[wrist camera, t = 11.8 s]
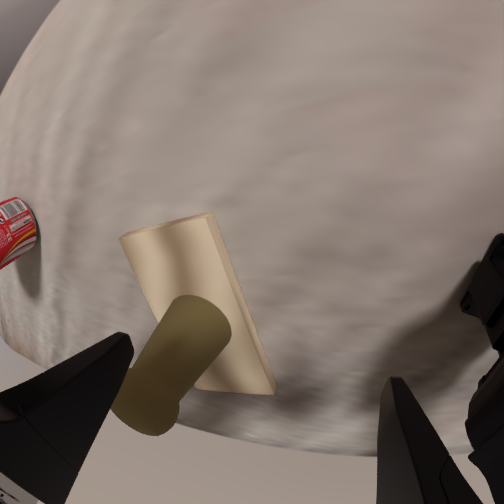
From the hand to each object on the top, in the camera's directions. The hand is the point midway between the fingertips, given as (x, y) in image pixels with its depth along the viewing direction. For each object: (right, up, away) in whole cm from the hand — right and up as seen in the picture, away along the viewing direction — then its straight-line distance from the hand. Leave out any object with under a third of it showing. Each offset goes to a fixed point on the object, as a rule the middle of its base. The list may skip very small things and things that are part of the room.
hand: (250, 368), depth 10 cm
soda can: (-28, +8, +22) cm, 36 cm away
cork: (-4, -2, +17) cm, 18 cm away
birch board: (-4, -2, +18) cm, 18 cm away
